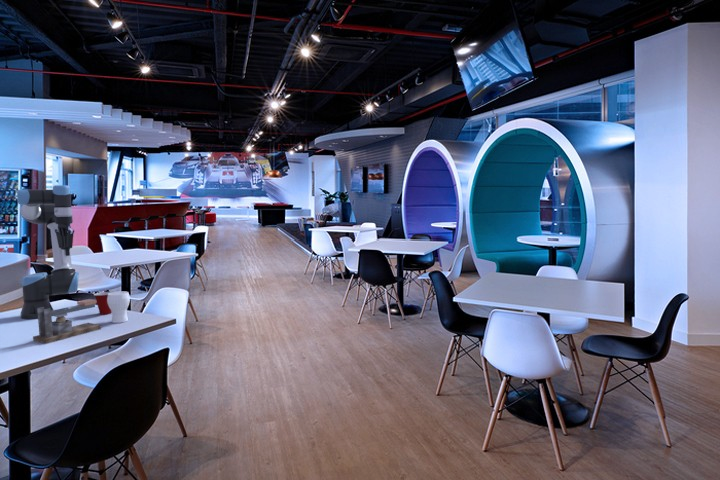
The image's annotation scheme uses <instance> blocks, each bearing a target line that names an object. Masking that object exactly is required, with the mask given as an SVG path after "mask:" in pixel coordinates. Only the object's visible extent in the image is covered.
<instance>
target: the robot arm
mask: <svg viewBox="0 0 720 480" xmlns="http://www.w3.org/2000/svg"><path fill="white" fill-rule="evenodd" d="M71 193H72V190H71V187H70V186H69V185H64V184H63V185H61V184H60V185H58V184H56V185H53V186H52V189H30V188H29V189H27V188H25V189H18V190H17V191H16V195H17V204H18V205H21V207H20V208H19V209H20V210H19V211H20V212H19V213H20V217H22V218H23V220H25V221H26V222H29V223H32V224H36V225H46V227H47V228H48V230H50V236H51V237H50V240H51V246H52V249H51V250H52V259H53V261H52V262H53V269H52V270H51V271H50V273H51V274H48V273H47V272H46V271H45V272H44V271H43V272H36V273H32V274H28V275H25V276H23V277H22V280H21V284H22V285H21V287H22V299H23V301H22V302H23V303H22V307H21V311H20V318H21V319H25V320H32V319H38V310H37V308H41V307H44V309H49V308H50V309H51V311H52V310H54V308H53V305H52V303H51V302H50V298H49V297H50V296H56V295H57V296H58V295H67V294H72V293H76V292H77V291H78V288H79V279H80V276H79V272H78V271H76V269H75V268H74V267H73V264H72V257H71V249H72V248H73V245H74V234H75V229H72V226H71V224H73V222H74V220H73V219H74V218H73V210H72V196H71V195H72V194H71Z"/></svg>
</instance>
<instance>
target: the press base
mask: <svg viewBox="0 0 720 480" xmlns="http://www.w3.org/2000/svg"><path fill="white" fill-rule="evenodd" d="M37 310H38V318H37V320H38V321H37V323H38V334H37V335H34V336H33V335H32V341H34V342H36V343H41V344H43V345H44V344H46V345H47V344H50V343H54V342H58V341H63V340H66V339H69V338H73V337H76V336H80V335H83V334H88V333H91V332H95V331H98V330H102V329H101V325H100V324H97V323H93V322H85V323H81V324H77V325H74V326H73V321H72V320H71V319H66V321H65V322H63V323H57V322H56V320H54V321H53V316H51V309H50V308H49V309H44V307H41V308H37ZM43 312H44V317H43Z"/></svg>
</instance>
